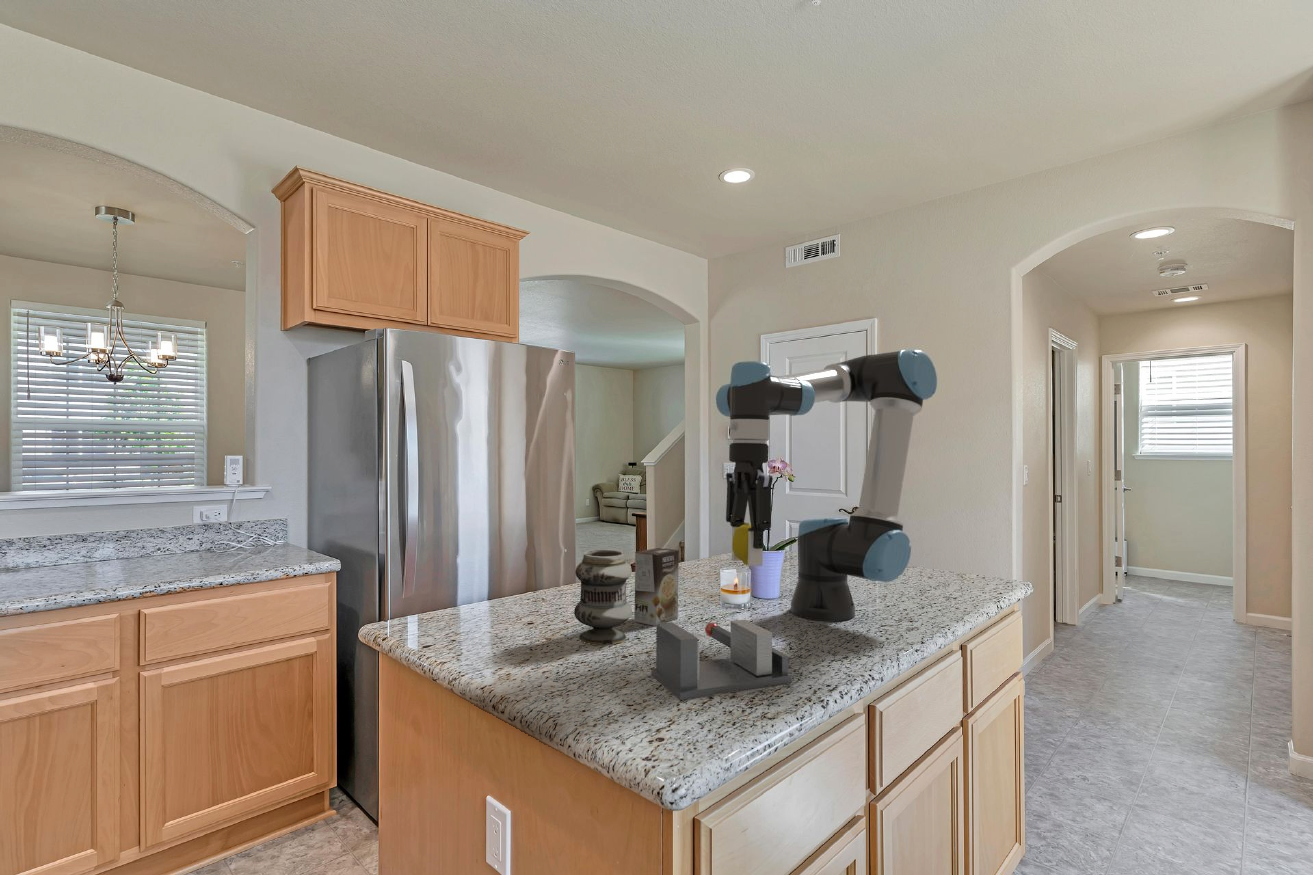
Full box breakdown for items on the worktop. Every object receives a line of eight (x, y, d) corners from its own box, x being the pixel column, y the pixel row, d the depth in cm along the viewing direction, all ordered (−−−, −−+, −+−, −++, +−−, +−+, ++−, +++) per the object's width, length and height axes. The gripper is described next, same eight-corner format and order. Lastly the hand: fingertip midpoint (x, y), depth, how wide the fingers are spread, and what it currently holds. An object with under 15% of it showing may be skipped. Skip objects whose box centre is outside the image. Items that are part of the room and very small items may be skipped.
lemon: (743, 561, 128) (744, 520, 128) (766, 565, 124) (767, 523, 124) (725, 563, 124) (726, 522, 124) (748, 567, 120) (749, 524, 120)
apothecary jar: (583, 650, 127) (584, 558, 127) (567, 633, 138) (567, 549, 138) (640, 643, 132) (641, 554, 132) (620, 627, 143) (620, 546, 143)
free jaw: (715, 640, 129) (715, 605, 130) (771, 673, 111) (772, 632, 111) (702, 641, 128) (702, 606, 128) (756, 675, 109) (757, 634, 110)
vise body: (754, 660, 121) (754, 611, 122) (791, 682, 110) (791, 628, 111) (651, 675, 113) (651, 622, 113) (680, 700, 102) (680, 641, 102)
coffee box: (656, 626, 144) (656, 554, 144) (633, 622, 148) (634, 551, 148) (679, 618, 151) (679, 549, 152) (656, 613, 155) (657, 546, 155)
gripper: (709, 442, 132) (707, 556, 131) (757, 441, 115) (754, 572, 114) (741, 443, 135) (739, 554, 134) (793, 442, 117) (790, 570, 117)
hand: (746, 562), depth 124 cm, fingers closed on lemon, 5 cm apart
